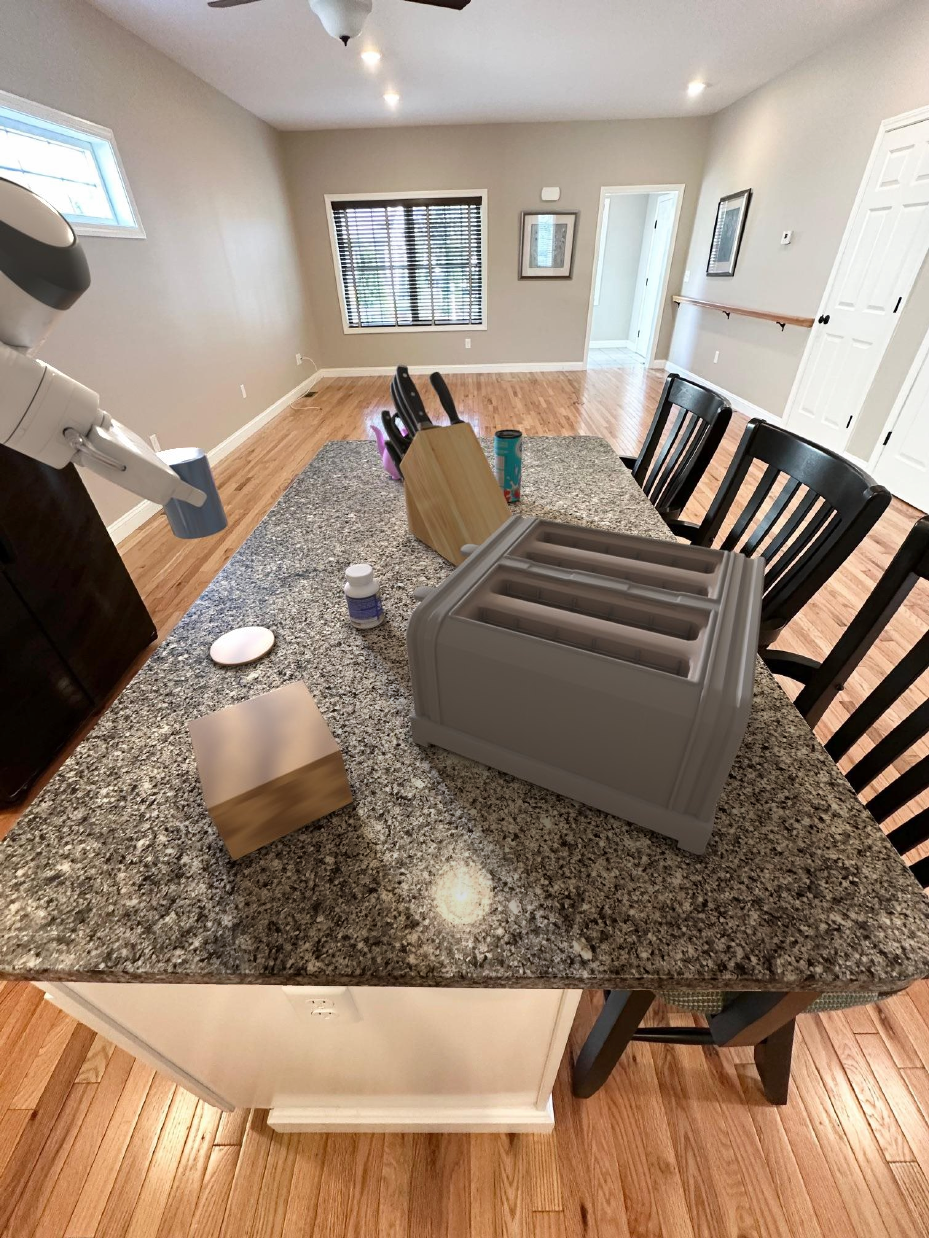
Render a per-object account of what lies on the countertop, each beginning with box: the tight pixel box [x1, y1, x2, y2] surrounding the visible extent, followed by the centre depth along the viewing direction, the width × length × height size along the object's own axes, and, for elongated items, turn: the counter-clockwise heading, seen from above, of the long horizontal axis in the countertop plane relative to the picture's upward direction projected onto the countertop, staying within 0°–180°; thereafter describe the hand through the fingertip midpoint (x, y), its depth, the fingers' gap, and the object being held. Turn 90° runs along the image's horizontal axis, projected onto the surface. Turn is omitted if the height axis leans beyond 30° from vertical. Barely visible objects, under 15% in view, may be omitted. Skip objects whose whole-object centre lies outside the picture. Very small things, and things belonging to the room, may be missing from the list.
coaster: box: [209, 625, 276, 667], centre depth 75 cm, size 9×9×1 cm
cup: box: [156, 447, 229, 540], centre depth 62 cm, size 6×6×9 cm
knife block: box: [380, 364, 514, 568], centre depth 93 cm, size 11×35×31 cm, turn 33°
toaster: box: [405, 514, 767, 856], centre depth 60 cm, size 31×36×17 cm
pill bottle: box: [343, 563, 385, 630], centre depth 78 cm, size 5×5×9 cm
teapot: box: [369, 424, 408, 480], centre depth 131 cm, size 20×14×12 cm
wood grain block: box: [186, 678, 354, 861], centre depth 53 cm, size 12×12×8 cm
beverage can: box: [494, 428, 523, 505], centre depth 114 cm, size 6×6×15 cm
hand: (193, 490), depth 62 cm, fingers closed on cup, 6 cm apart
